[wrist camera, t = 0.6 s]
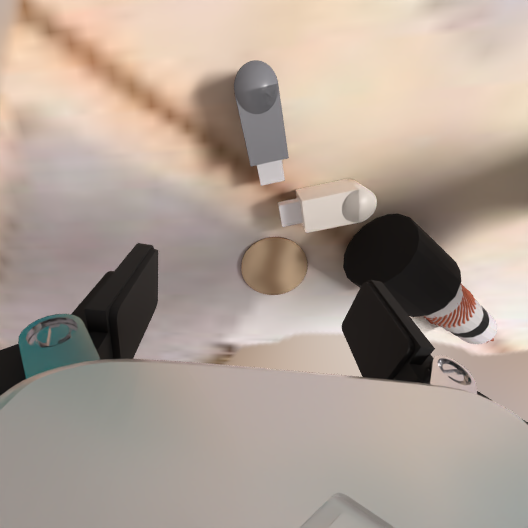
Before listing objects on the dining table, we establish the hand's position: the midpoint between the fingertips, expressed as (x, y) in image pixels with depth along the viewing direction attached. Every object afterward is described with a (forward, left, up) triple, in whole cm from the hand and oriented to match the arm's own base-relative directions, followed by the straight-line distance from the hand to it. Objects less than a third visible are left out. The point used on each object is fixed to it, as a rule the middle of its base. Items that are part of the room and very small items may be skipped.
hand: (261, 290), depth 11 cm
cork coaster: (0, +14, -24) cm, 27 cm away
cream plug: (-8, +5, -24) cm, 25 cm away
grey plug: (-2, -5, -24) cm, 24 cm away
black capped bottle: (-24, +23, -24) cm, 41 cm away
